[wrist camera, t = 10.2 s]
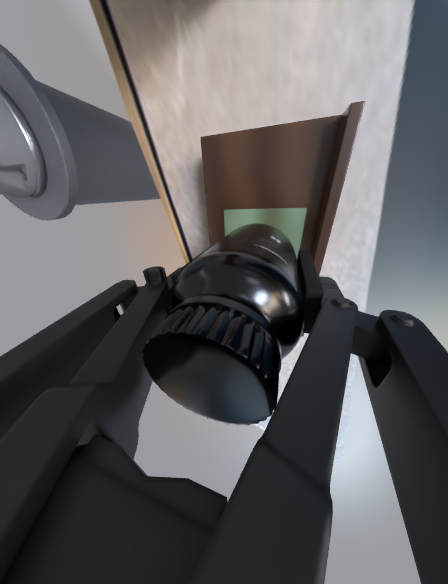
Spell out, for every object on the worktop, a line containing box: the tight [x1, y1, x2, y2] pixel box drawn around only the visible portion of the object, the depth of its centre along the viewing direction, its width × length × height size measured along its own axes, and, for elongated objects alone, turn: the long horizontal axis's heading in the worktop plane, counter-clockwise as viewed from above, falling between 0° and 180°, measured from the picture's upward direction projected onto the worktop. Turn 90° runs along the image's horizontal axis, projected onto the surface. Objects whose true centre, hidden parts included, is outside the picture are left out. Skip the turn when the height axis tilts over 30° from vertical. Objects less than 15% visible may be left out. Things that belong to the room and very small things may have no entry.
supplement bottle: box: [142, 223, 304, 425], centre depth 11 cm, size 7×7×12 cm
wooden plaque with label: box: [201, 101, 365, 337], centre depth 20 cm, size 12×20×7 cm, turn 2°
